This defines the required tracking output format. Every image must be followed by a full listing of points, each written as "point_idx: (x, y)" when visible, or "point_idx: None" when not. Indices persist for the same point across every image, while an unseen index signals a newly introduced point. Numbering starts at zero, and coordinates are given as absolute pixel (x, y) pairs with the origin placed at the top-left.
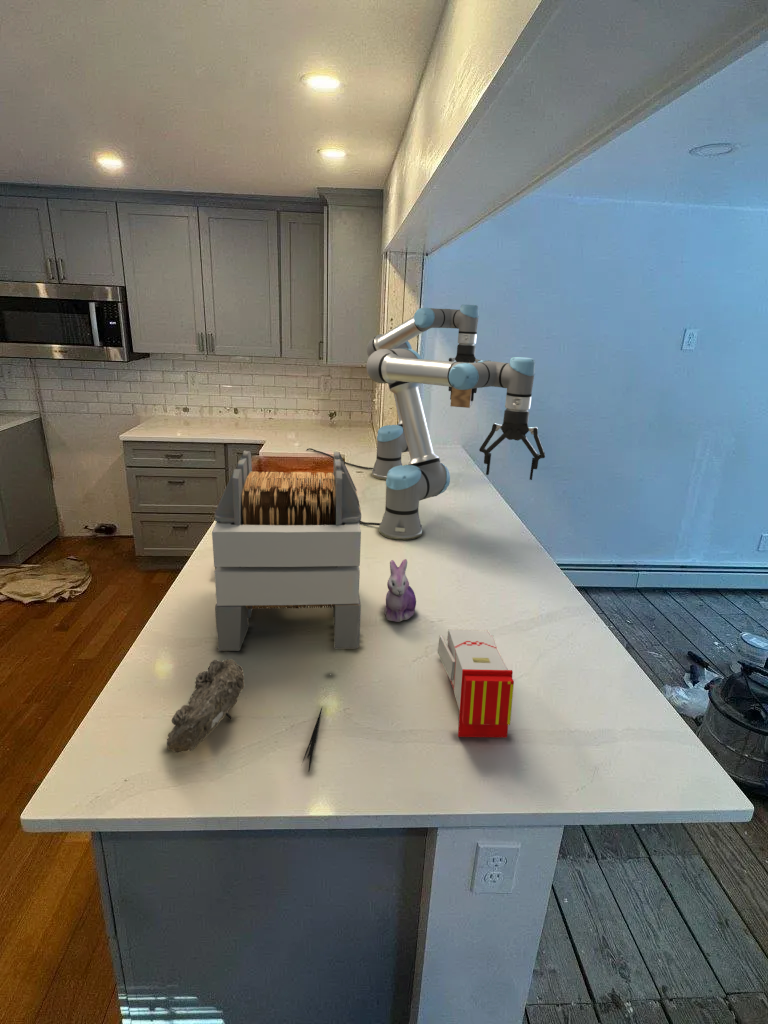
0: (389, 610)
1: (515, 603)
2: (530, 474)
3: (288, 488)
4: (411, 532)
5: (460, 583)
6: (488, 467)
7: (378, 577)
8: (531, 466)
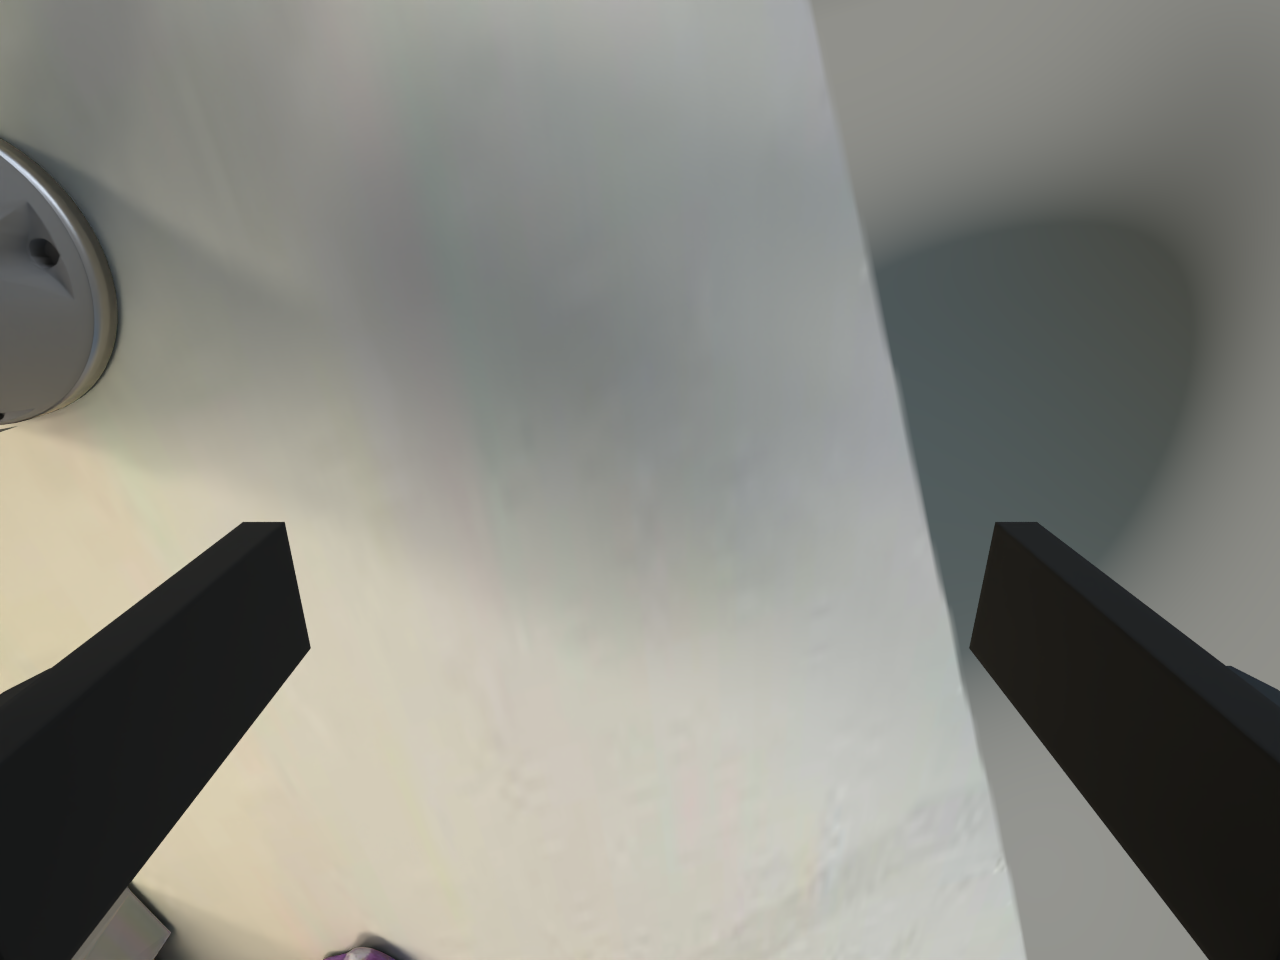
0: None
1: (736, 831)
2: (1019, 707)
3: None
4: (56, 387)
5: (509, 758)
6: (227, 737)
7: (187, 809)
8: (1117, 837)
